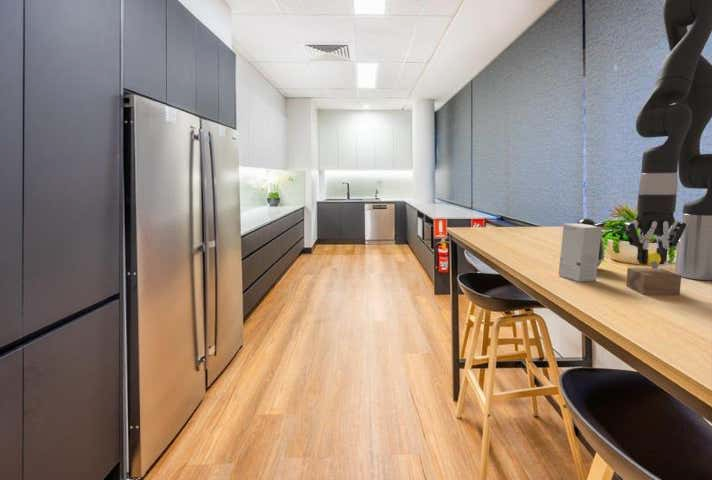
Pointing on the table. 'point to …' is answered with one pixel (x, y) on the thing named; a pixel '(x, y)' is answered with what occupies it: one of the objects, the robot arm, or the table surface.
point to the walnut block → (653, 281)
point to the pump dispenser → (601, 250)
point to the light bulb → (653, 259)
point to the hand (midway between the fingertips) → (651, 263)
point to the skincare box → (580, 252)
